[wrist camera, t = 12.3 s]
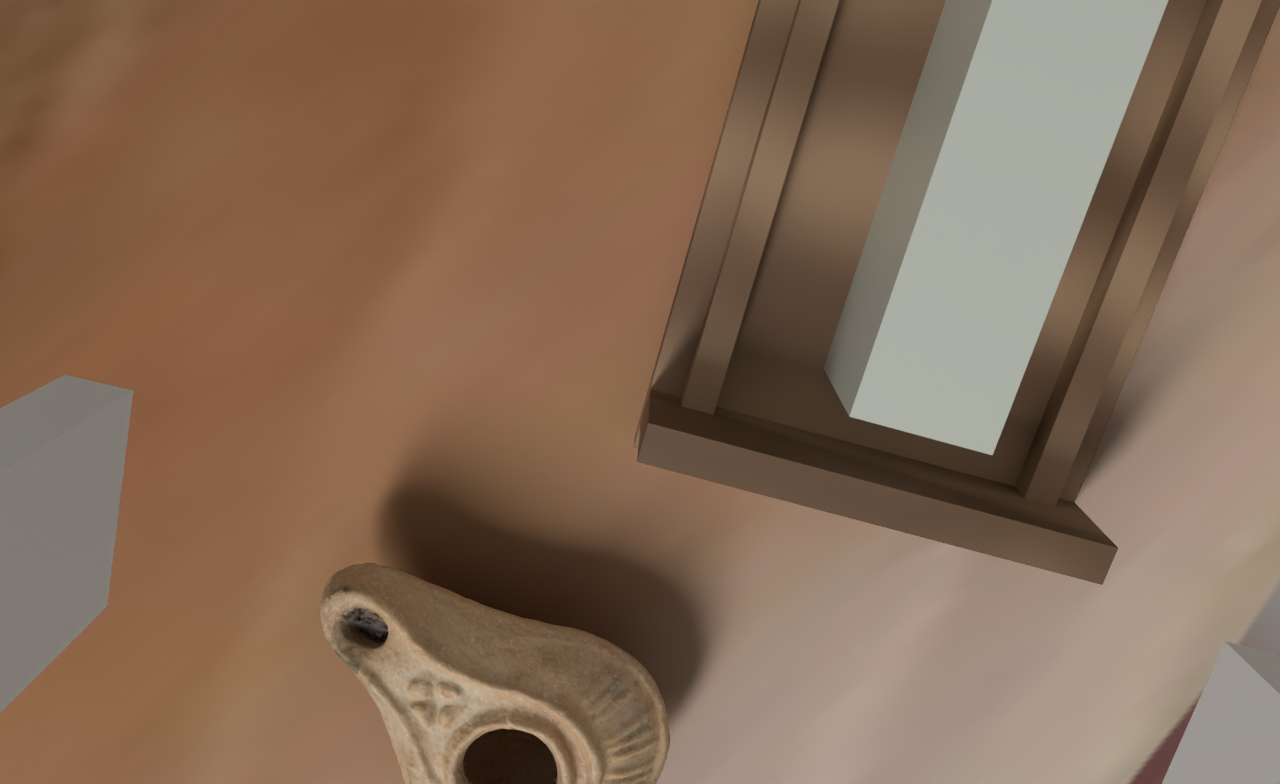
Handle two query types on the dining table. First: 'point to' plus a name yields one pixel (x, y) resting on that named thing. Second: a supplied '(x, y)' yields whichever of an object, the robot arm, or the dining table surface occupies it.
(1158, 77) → the cradle rack
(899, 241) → the greenware bar
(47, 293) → the dining table surface
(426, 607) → the pottery oil lamp
